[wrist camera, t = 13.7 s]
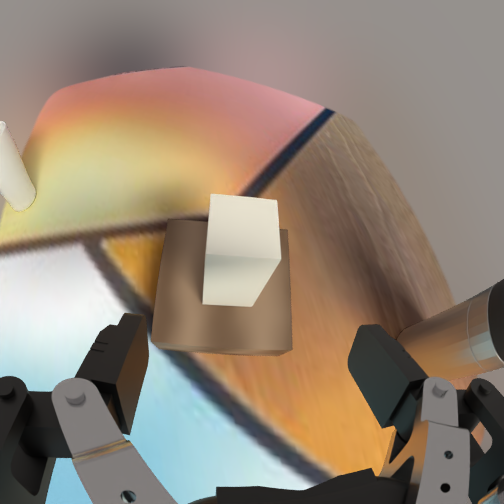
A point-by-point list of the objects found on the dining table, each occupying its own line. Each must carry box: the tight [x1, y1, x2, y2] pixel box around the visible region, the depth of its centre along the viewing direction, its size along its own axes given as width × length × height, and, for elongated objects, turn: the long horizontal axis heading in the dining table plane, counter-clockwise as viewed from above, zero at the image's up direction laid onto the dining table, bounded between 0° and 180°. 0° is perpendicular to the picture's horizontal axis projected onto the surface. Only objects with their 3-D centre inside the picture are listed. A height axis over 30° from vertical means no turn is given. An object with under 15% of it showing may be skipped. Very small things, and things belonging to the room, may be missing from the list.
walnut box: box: [151, 219, 292, 356], centre depth 32 cm, size 14×14×6 cm
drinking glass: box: [0, 121, 36, 211], centre depth 29 cm, size 7×7×15 cm
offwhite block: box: [202, 194, 281, 307], centre depth 25 cm, size 5×5×11 cm
